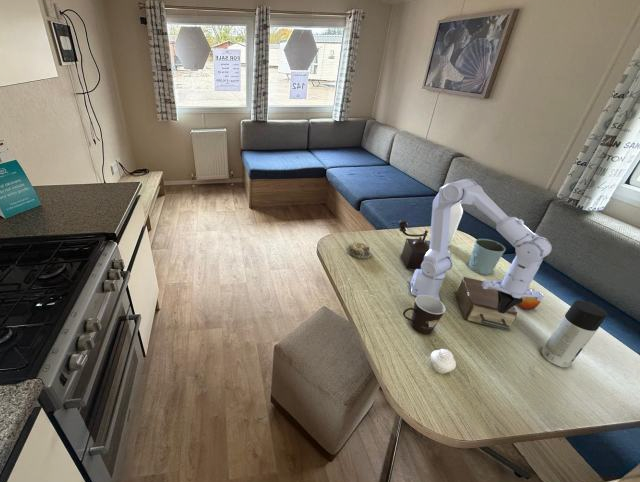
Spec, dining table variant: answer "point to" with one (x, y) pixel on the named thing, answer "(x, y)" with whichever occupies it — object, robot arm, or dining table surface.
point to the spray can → (573, 333)
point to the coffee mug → (425, 314)
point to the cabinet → (477, 296)
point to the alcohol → (454, 220)
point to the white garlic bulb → (443, 361)
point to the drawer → (491, 317)
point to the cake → (359, 250)
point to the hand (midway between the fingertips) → (500, 311)
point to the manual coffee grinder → (413, 248)
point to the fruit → (528, 303)
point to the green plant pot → (485, 256)
